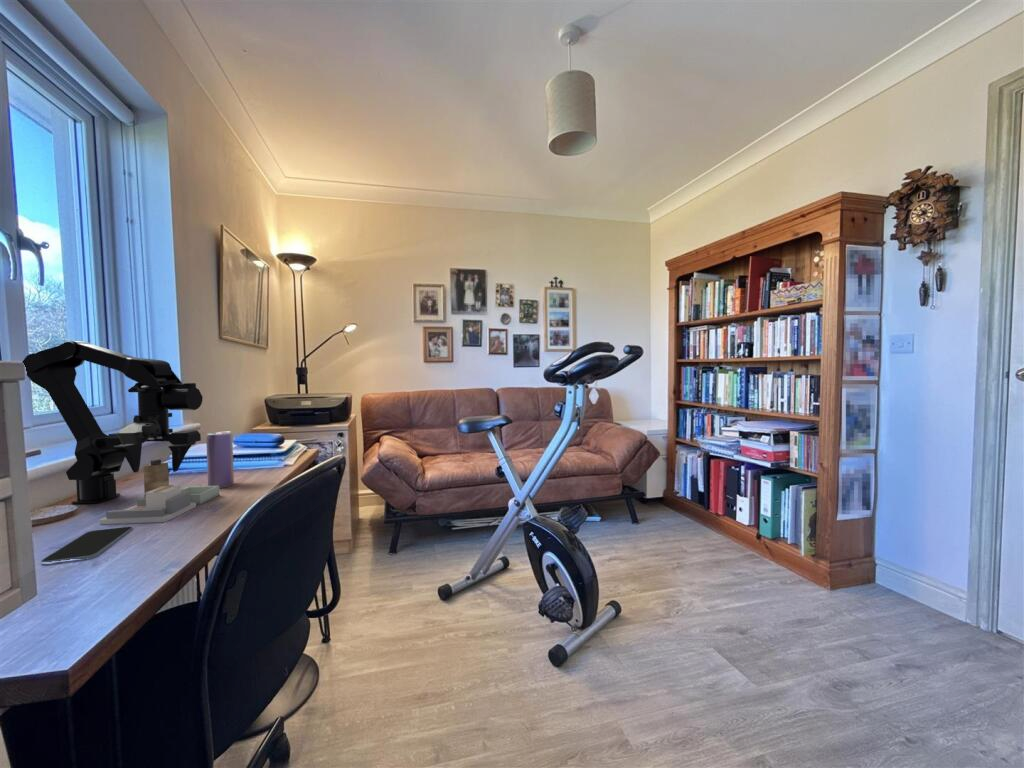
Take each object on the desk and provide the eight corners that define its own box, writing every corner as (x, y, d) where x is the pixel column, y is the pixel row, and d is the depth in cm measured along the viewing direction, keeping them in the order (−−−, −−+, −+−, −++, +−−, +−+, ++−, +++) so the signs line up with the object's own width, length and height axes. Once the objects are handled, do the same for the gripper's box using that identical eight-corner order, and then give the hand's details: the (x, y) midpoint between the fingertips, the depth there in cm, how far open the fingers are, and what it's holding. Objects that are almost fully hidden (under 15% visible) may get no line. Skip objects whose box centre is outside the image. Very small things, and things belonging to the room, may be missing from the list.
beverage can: (224, 488, 114) (222, 434, 114) (202, 488, 115) (200, 434, 114) (238, 482, 120) (237, 431, 120) (218, 482, 120) (216, 431, 120)
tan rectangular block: (144, 501, 104) (143, 461, 103) (155, 497, 107) (153, 458, 107) (159, 501, 104) (157, 461, 104) (169, 496, 108) (167, 458, 107)
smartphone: (134, 525, 87) (94, 555, 73) (135, 530, 87) (94, 560, 73) (88, 531, 84) (37, 562, 70) (88, 535, 84) (37, 567, 70)
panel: (99, 524, 89) (99, 505, 89) (137, 508, 99) (136, 491, 99) (165, 521, 90) (164, 503, 90) (196, 506, 100) (195, 489, 100)
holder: (167, 505, 100) (166, 495, 100) (188, 496, 108) (188, 486, 108) (200, 504, 101) (200, 494, 101) (219, 495, 109) (219, 485, 109)
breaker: (146, 512, 92) (145, 491, 92) (163, 504, 97) (162, 485, 97) (165, 511, 92) (165, 491, 92) (181, 504, 97) (180, 484, 97)
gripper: (83, 414, 96) (86, 481, 96) (170, 413, 98) (172, 479, 98) (123, 409, 107) (125, 469, 108) (201, 408, 109) (203, 468, 109)
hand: (155, 471), depth 105 cm, fingers open, 9 cm apart
